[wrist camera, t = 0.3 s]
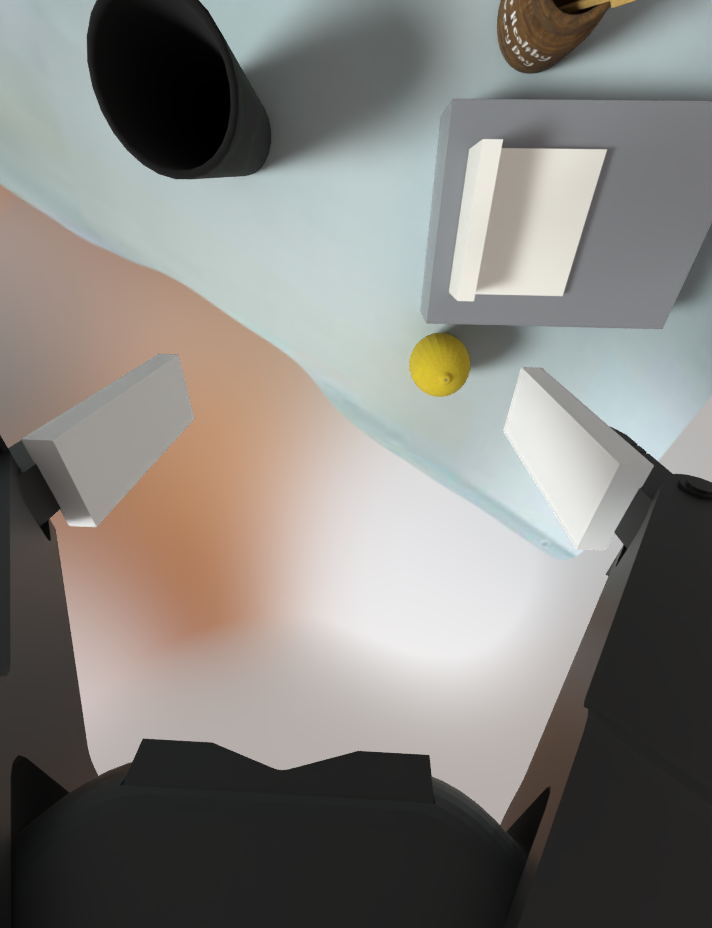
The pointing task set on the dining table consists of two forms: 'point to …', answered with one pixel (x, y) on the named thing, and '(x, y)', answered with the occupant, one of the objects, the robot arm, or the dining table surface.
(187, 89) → the cup
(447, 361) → the lemon
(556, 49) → the utensil holder
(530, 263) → the panel
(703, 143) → the socket block
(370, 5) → the dining table surface
